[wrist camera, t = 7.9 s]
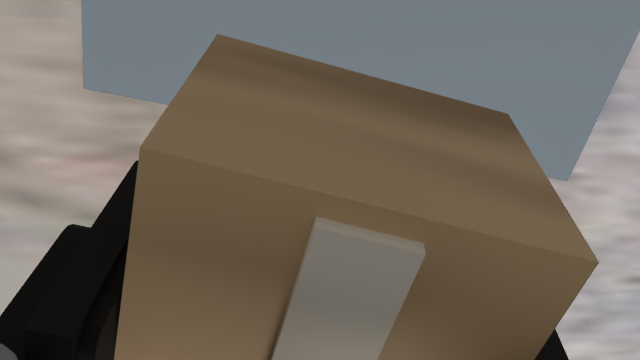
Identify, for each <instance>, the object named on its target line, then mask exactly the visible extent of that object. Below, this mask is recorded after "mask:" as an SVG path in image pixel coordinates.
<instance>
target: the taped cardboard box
mask: <svg viewBox="0 0 640 360" xmlns="http://www.w3.org/2000/svg"><path fill="white" fill-rule="evenodd" d="M598 263H599V262H598V260H597V258H596V257H595V255H594V253H593V252H592V250H591V249H590V247H589V245H588V244H587V242H586V240H585V239H584V237H583V236H582V234H581V232H580V231H579V229H578V227H577V226H576V224H575V222H574V221H573V219H572V218H571V216H570V214H569V213H568V211H567V209H566V208H565V206H564V204H563V203H562V201H561V200H560V198H559V196H558V195H557V193H556V191H555V190H554V188H553V186H552V185H551V183H550V182H549V180H548V178H547V177H546V175H545V173H544V172H543V170H542V168H541V167H540V165H539V164H538V162H537V160H536V159H535V157H534V155H533V154H532V152H531V150H530V149H529V147H528V146H527V144H526V142H525V141H524V139H523V137H522V136H521V134H520V133H519V131H518V129H517V128H516V126H515V124H514V123H513V121H512V119H511V118H510V116H509V115H508V114H507V113H503V112H500V111H496V110H493V109H489V108H485V107H482V106H478V105H474V104H471V103H467V102H464V101H460V100H456V99H453V98H449V97H445V96H442V95H438V94H434V93H431V92H427V91H424V90H420V89H416V88H413V87H409V86H405V85H402V84H398V83H395V82H391V81H387V80H384V79H380V78H376V77H373V76H369V75H365V74H362V73H358V72H355V71H351V70H347V69H344V68H340V67H336V66H333V65H329V64H326V63H322V62H318V61H315V60H311V59H307V58H304V57H300V56H296V55H293V54H289V53H286V52H282V51H278V50H275V49H271V48H267V47H264V46H260V45H257V44H253V43H249V42H246V41H242V40H238V39H235V38H231V37H227V36H224V35H220V34H217V35H216V37H215V38H214V40H213V41H212V43H211V44H210V46H209V47H208V48H207V50H206V51H205V53H204V54H203V56H202V57H201V59H200V60H199V62H198V63H197V65H196V66H195V67H194V69H193V70H192V72H191V73H190V75H189V76H188V78H187V79H186V81H185V82H184V84H183V85H182V87H181V88H180V89H179V91H178V92H177V94H176V95H175V97H174V98H173V100H172V101H171V103H170V104H169V106H168V107H167V108H166V110H165V111H164V113H163V114H162V116H161V117H160V119H159V120H158V122H157V123H156V125H155V126H154V128H153V129H152V130H151V132H150V133H149V135H148V136H147V138H146V139H145V141H144V142H143V144H142V145H141V147H140V153H139V161H138V169H137V177H136V185H135V193H134V201H133V209H132V217H131V226H130V234H129V242H128V250H127V258H126V266H125V274H124V282H123V290H122V298H121V306H120V315H119V323H118V331H117V339H116V347H115V355H114V360H534V359H535V358H536V356H537V355H538V353H539V352H540V350H541V349H542V347H543V346H544V344H545V343H546V341H547V340H548V338H549V337H550V335H551V334H552V332H553V331H554V329H555V328H556V326H557V325H558V323H559V322H560V320H561V319H562V317H563V316H564V314H565V313H566V311H567V310H568V308H569V307H570V305H571V304H572V302H573V301H574V299H575V298H576V296H577V295H578V293H579V292H580V290H581V289H582V287H583V286H584V284H585V283H586V281H587V280H588V278H589V276H590V275H591V273H592V272H593V270H594V269H595V267H596V266H597V264H598Z"/></svg>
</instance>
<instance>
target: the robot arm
mask: <svg viewBox="0 0 640 360" xmlns="http://www.w3.org/2000/svg"><path fill="white" fill-rule="evenodd" d="M137 169H138V161H136V162H135V163H134V164H133V166H132V167H131V169H130V170H129V172H128V173H127V175H126V176H125V178H124V179H123V181H122V182H121V184H120V185H119V187H118V188H117V190H116V191H115V193H114V194H113V196H112V197H111V198H110V200H109V201H108V203H107V204H106V206H105V207H104V209H103V210H102V212H101V213H100V215H99V216H98V218H97V219H96V221H95V222H94V224H93V225H92V227H91V228H89V227H84V226H79V225H74V224H71V225H69V226H67V227H66V228H65V229H64V230H63V232H62V233H61V234H60V236H59V237H58V238H57V240H56V241H55V242H54V244H53V245H52V247H51V248H50V249H49V251H48V252H47V253H46V255H45V256H44V257H43V259H42V260H41V262H40V263H39V264H38V266H37V267H36V268H35V270H34V271H33V272H32V274H31V275H30V277H29V278H28V279H27V281H26V282H25V283H24V285H23V286H22V287H21V289H20V290H19V292H18V293H17V294H16V296H15V297H14V298H13V300H12V301H11V302H10V304H9V305H8V306H7V308H6V309H5V310H4V312H3V313H2V315H1V316H0V360H114V355H115V347H116V339H117V331H118V323H119V315H120V306H121V298H122V290H123V282H124V274H125V266H126V258H127V250H128V242H129V234H130V226H131V217H132V209H133V201H134V193H135V185H136V177H137ZM534 360H569V359H568V357H567V355H566V352H565V350H564V348H563V346H562V343H561V341H560V339H559V336H558V334H557V332H556V330H555V329H554V331H553V332H552V334H551V335H550V337H549V338H548V340H547V341H546V343H545V344H544V346H543V347H542V349H541V350H540V352H539V353H538V355H537V356H536V358H535V359H534Z"/></svg>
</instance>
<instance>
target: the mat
mask: <svg viewBox="0 0 640 360" xmlns="http://www.w3.org/2000/svg"><path fill="white" fill-rule="evenodd" d="M639 31H640V0H82V37H83V86H84V89H88V90H93V91H99V92H104V93H109V94H114V95H120V96H125V97H130V98H135V99H140V100H146V101H151V102H156V103H161V104H167V105H169V104H170V103H171V101H172V100H173V98H174V97H175V95H176V94H177V92H178V91H179V89H180V88H181V87H182V85H183V84H184V82H185V81H186V79H187V78H188V76H189V75H190V73H191V72H192V70H193V69H194V67H195V66H196V65H197V63H198V62H199V60H200V59H201V57H202V56H203V54H204V53H205V51H206V50H207V48H208V47H209V46H210V44H211V43H212V41H213V40H214V38H215V37H216V35H217V34H220V35H224V36H227V37H231V38H235V39H238V40H242V41H246V42H249V43H253V44H257V45H260V46H264V47H267V48H271V49H275V50H278V51H282V52H286V53H289V54H293V55H296V56H300V57H304V58H307V59H311V60H315V61H318V62H322V63H326V64H329V65H333V66H336V67H340V68H344V69H347V70H351V71H355V72H358V73H362V74H365V75H369V76H373V77H376V78H380V79H384V80H387V81H391V82H395V83H398V84H402V85H405V86H409V87H413V88H416V89H420V90H424V91H427V92H431V93H434V94H438V95H442V96H445V97H449V98H453V99H456V100H460V101H464V102H467V103H471V104H474V105H478V106H482V107H485V108H489V109H493V110H496V111H500V112H503V113H507V114H508V115H509V116H510V118H511V119H512V121H513V123H514V124H515V126H516V128H517V129H518V131H519V133H520V134H521V136H522V137H523V139H524V141H525V142H526V144H527V146H528V147H529V149H530V150H531V152H532V154H533V155H534V157H535V159H536V160H537V162H538V164H539V165H540V167H541V168H542V170H543V172H544V173H545V175H546V177H549V178H554V179H559V180H564V181H568V179H569V177H570V175H571V173H572V171H573V168H574V166H575V164H576V162H577V160H578V158H579V156H580V154H581V152H582V150H583V148H584V146H585V143H586V141H587V139H588V137H589V135H590V133H591V131H592V129H593V127H594V125H595V123H596V121H597V118H598V116H599V114H600V112H601V110H602V108H603V106H604V104H605V102H606V100H607V98H608V96H609V93H610V91H611V89H612V87H613V85H614V83H615V81H616V79H617V77H618V75H619V73H620V71H621V68H622V66H623V64H624V62H625V60H626V58H627V56H628V54H629V52H630V50H631V48H632V45H633V43H634V41H635V39H636V37H637V35H638V33H639Z"/></svg>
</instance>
